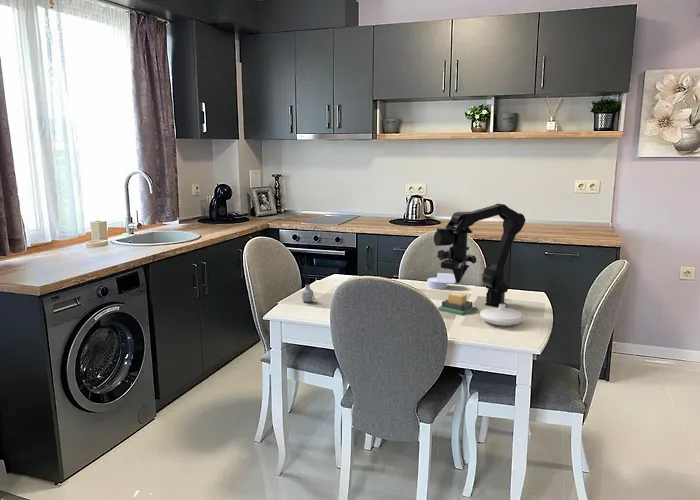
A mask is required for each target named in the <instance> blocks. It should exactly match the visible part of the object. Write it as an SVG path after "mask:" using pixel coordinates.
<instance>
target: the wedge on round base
mask: <svg viewBox="0 0 700 500" xmlns="http://www.w3.org/2000/svg"><path fill="white" fill-rule="evenodd" d="M436 274H437V275H436V277H429V278H427V284H426V285H427V286H426V287H427V288H428V289H432V290H445V289H447V286H448V284H456V280H455V276H454V273H447V272H446V273H443V272H437V273H436Z"/></svg>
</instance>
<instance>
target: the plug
mask: <svg viewBox="0 0 700 500" xmlns="http://www.w3.org/2000/svg"><path fill="white" fill-rule="evenodd" d="M447 299H448V302H449V303H453V304H458V305H465V304H466V301H467V294H463V293H459V292H458V293H457V292H451V293H449V294H448V297H447Z"/></svg>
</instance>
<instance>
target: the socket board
mask: <svg viewBox="0 0 700 500" xmlns="http://www.w3.org/2000/svg"><path fill="white" fill-rule="evenodd" d="M438 308H439V310H438V311H441V312H446V313H450V314H454V315H459V316H463V315H465V314H467V313H470V312H472V311H474V310H476V309H477V305H474V304H473V301H468V300H466V304H465V305H458V304H453V303H449V302H448V298H447V299H445V300H443V301H441V305H440V306H438Z"/></svg>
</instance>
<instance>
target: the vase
mask: <svg viewBox="0 0 700 500" xmlns="http://www.w3.org/2000/svg"><path fill="white" fill-rule="evenodd" d="M479 315H480V318H481V319H482V320H483V321H485V322H487V323H489V324H491V325H493V326H494V325H495V326H501V327H502V326H503V327H506V326H507V327H509V326H514V325H517V324H520V323H522V321H523V320H524V318H525V317H524V315H523V314H522V313H521V312H520V311H518V310H516V309H512V308H508V307H507V308H506V304H499V307H488V308H484V309H482V310H481V311H480V312H479Z"/></svg>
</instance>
